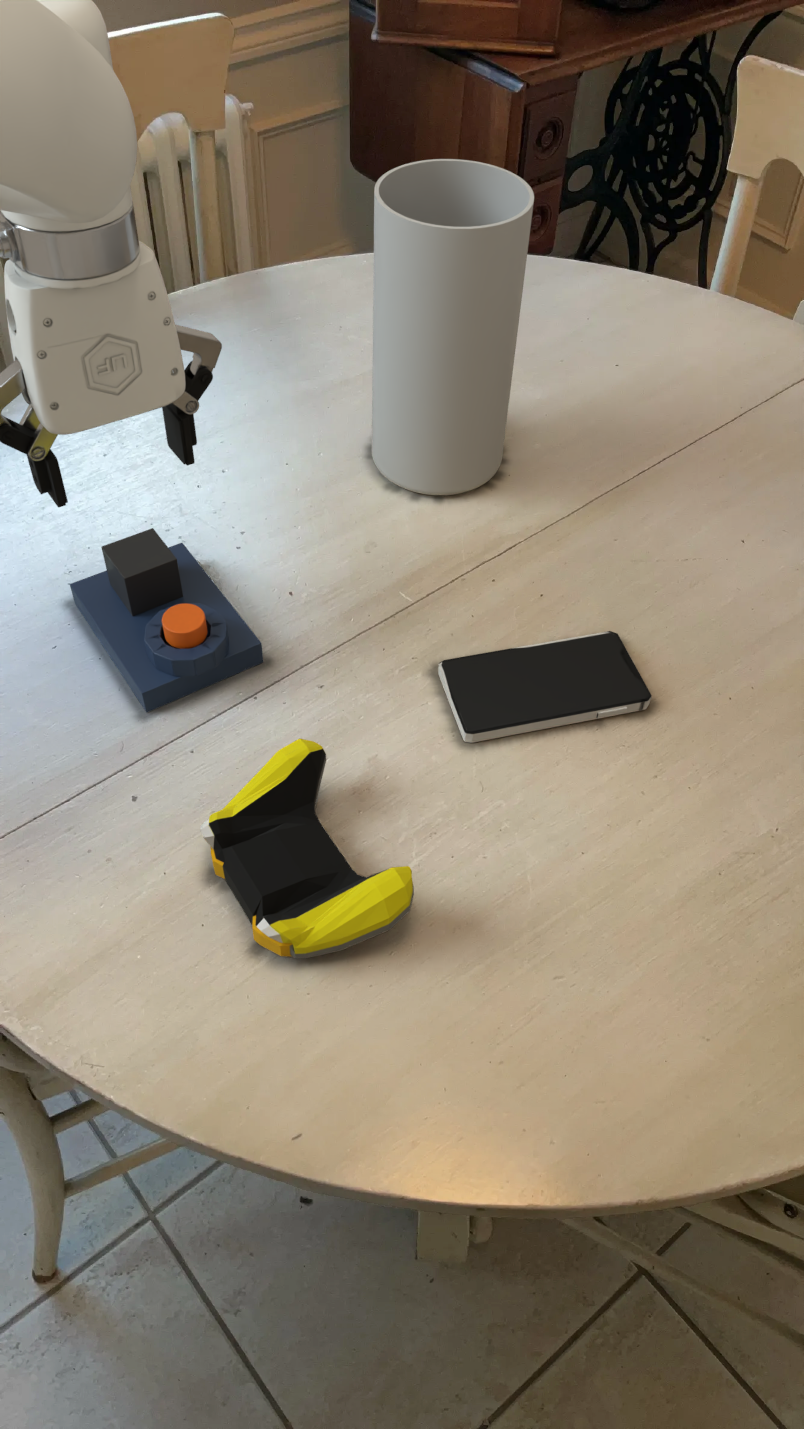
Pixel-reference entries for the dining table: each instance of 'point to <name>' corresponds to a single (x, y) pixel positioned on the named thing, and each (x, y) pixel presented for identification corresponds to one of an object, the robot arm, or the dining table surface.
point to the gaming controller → (298, 863)
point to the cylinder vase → (445, 320)
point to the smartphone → (542, 686)
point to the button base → (142, 642)
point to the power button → (184, 626)
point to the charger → (142, 571)
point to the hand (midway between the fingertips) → (120, 475)
